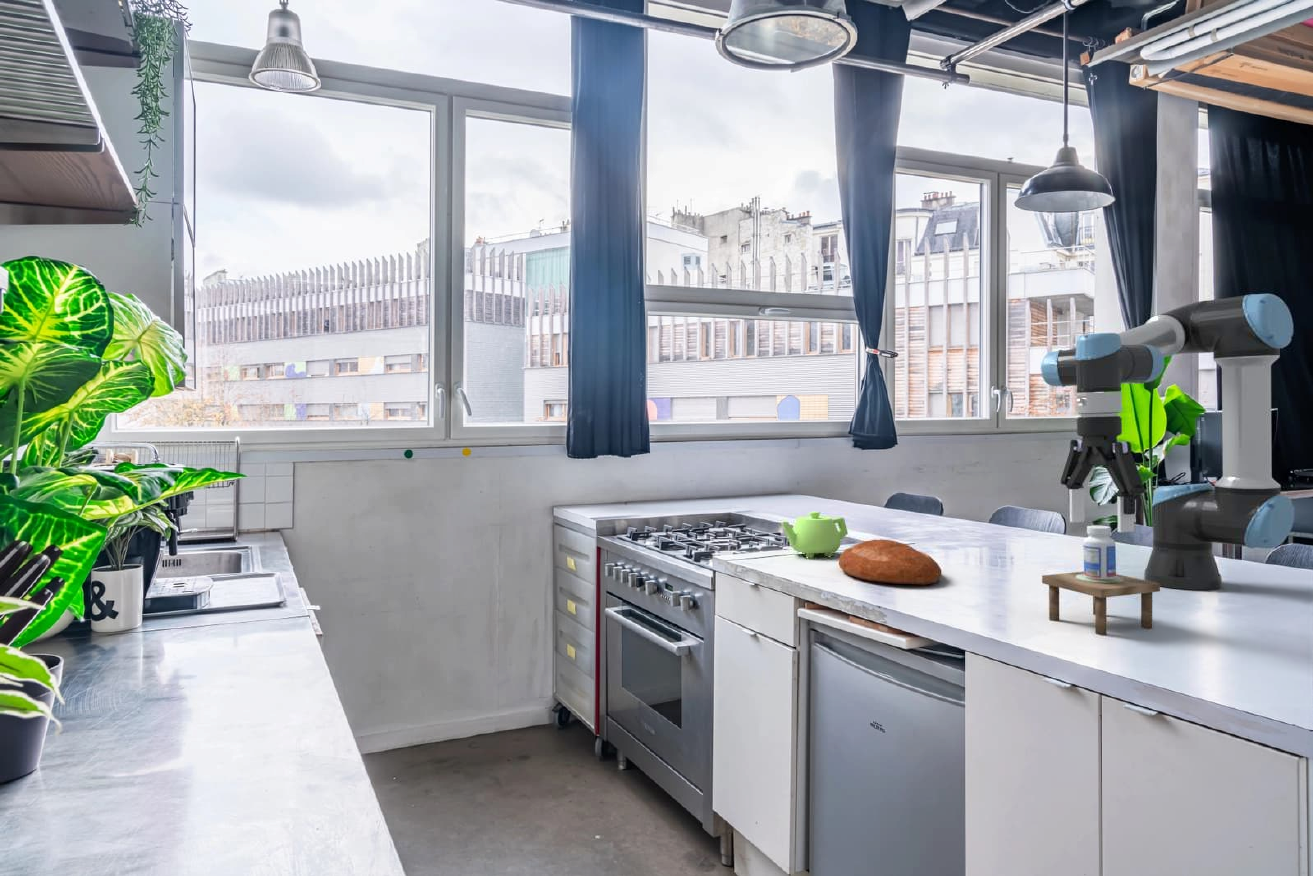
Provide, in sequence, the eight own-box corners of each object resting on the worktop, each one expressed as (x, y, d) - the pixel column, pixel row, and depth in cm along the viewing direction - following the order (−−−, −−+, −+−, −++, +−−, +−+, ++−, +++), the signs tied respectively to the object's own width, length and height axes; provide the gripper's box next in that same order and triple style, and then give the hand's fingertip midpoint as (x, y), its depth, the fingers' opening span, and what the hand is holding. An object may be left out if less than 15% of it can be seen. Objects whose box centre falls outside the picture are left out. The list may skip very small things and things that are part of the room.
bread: (891, 562, 225) (891, 530, 224) (968, 585, 194) (967, 547, 194) (817, 568, 218) (817, 535, 218) (885, 592, 187) (884, 554, 187)
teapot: (790, 561, 228) (790, 516, 228) (773, 553, 241) (773, 510, 241) (857, 557, 232) (856, 513, 232) (836, 549, 245) (836, 508, 245)
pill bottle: (1110, 575, 158) (1110, 525, 158) (1120, 580, 153) (1120, 529, 153) (1079, 574, 159) (1079, 524, 159) (1088, 580, 154) (1088, 528, 154)
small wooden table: (1097, 612, 165) (1097, 568, 165) (1160, 628, 152) (1159, 581, 152) (1042, 618, 161) (1042, 574, 161) (1101, 636, 148) (1101, 588, 147)
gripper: (1040, 415, 167) (1042, 519, 168) (1128, 416, 142) (1129, 537, 143) (1074, 414, 168) (1076, 517, 169) (1166, 414, 144) (1168, 535, 144)
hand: (1100, 526), depth 156 cm, fingers open, 13 cm apart
